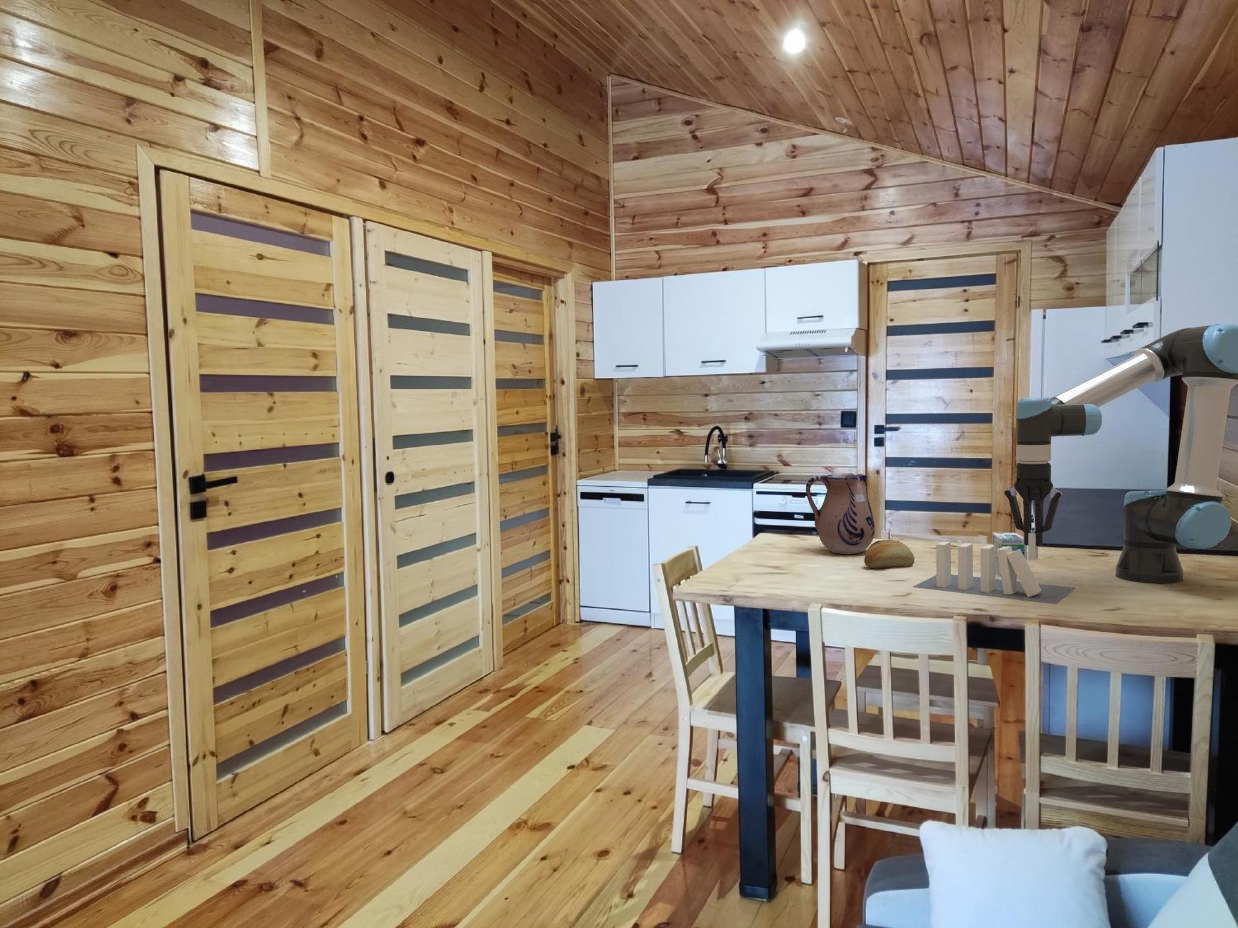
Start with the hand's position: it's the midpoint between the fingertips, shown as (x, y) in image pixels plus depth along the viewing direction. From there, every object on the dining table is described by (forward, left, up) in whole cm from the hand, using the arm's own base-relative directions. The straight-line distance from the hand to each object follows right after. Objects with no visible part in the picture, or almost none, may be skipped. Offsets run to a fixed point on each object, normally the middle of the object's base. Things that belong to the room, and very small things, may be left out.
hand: (1033, 559), depth 206 cm
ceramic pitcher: (+65, -32, -10) cm, 74 cm away
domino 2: (+16, 0, -9) cm, 18 cm away
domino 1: (+21, 0, -9) cm, 23 cm away
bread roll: (+44, -17, -10) cm, 48 cm away
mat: (+10, -4, -9) cm, 15 cm away
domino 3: (+10, 0, -9) cm, 14 cm away
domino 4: (+5, 0, -9) cm, 10 cm away
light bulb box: (+12, -25, -10) cm, 30 cm away
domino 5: (0, 0, -9) cm, 9 cm away
